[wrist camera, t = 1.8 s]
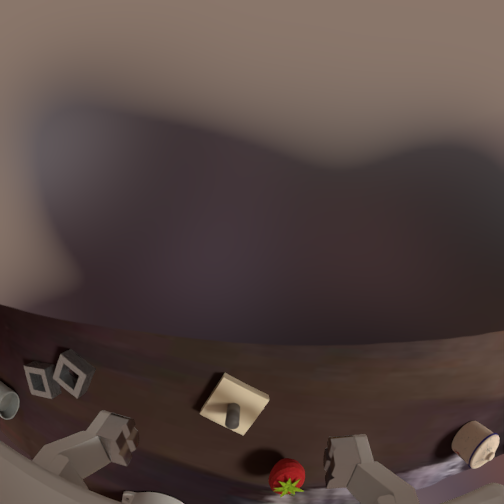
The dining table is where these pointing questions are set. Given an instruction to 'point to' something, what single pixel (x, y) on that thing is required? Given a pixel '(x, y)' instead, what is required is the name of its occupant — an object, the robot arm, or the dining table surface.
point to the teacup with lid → (475, 444)
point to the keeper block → (234, 404)
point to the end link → (79, 367)
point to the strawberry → (287, 477)
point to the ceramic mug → (8, 402)
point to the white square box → (35, 380)
